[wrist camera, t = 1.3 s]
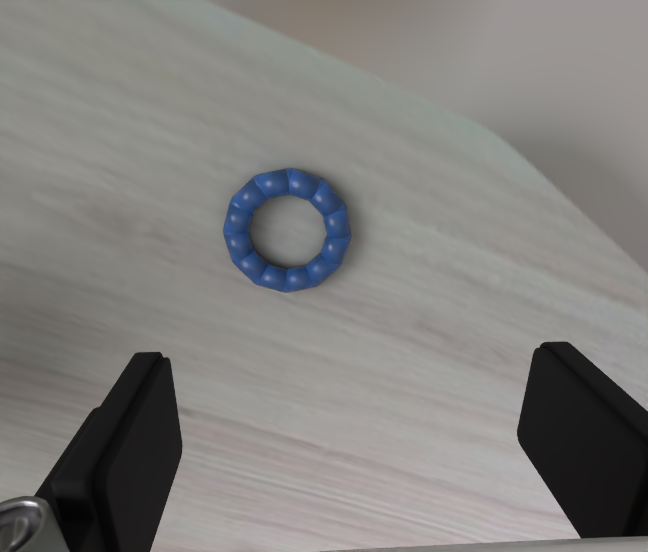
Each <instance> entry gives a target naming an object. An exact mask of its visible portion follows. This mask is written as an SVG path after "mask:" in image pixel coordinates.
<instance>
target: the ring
mask: <svg viewBox="0 0 648 552" xmlns="http://www.w3.org/2000/svg"><path fill="white" fill-rule="evenodd" d="M288 194H290V195H293V196H296V197H299V198H302V199H305V200H309V201H310V202H311V203H312V204H313V205H314V207H315V208H316V209H317V210H318V211H319V212H320V213H321V214H322V215H323V219H324V223H325V228H326V233H327V236H326V239H325V242H324V245H323V247H322V250H321V253H320V254H319V255H317V256H316V257H315V258H314V259H313V260H312V261H310V262H309V263H308V264H307V265H304V266H300V267H295V268H290V269H284V268H281V267H278V266H274V265H271V264H268V263H267V262H265V261H264V260H263V259H262V258H261V257H260V256H259V255H258V254H257V253H256V252H255V251H254V249H253V246H252V242H251V239H250V235H249V232H248V231H249V227H250V224H251V220H252V216H253V213H254V212H255V211H256V210H257V209H258V208H259V207H260V206H261V205H262V204H263V203H264V202H265V201H266V200H268V199H269V198H274V197H279V196H283V195H288ZM223 234H224V237H225V240H226V244H227V247H228V250H229V254H230V257H231V260H232V262H233V263H234V265H236V266H237V267H238V268H239V269H240V270H241V271H242V272H243V273H244V274H245V275H246V276H247V277H248V278H249V279H250V280H251V281H252V282H253V283H255V284H256V285H259V286H263V287H266V288H270V289H273V290H277V291H281V292H285V293H288V292H293V291H298V290H303V289H308V288H312V287H316V286H318V285H319V284H320V283H322V282H323V281H324V280H325V279H326V278H327V277H329V276H330V275H331V274H332V273H333V272H335V271H336V270H337V269H338V268H339V267H340V266H341V264H342V261H343V259H344V256H345V253H346V251H347V248H348V245H349V242H350V240H351V230H350V225H349V220H348V214H347V209H346V205H345V203H344V202H343V201H342V199H341V198H340V197H339V196H338V195H337V194H336V193H335V192H334V190H333V189H332V188H331V187H330V186H329V185H328V184H327V183H326V181H325V180H323V179H322V178H320V177H317V176H314V175H311V174H308V173H305V172H302V171H299V170H296V169H292V168H286V169H281V170H277V171H272V172H267V173H263V174H259V175H256V176H254V177H253V178H252V179H251V180H250V181H249V182H248V183H247V184H246V185H245V186H244V187H243V188H242V189H241V190H240V191H238V192H237V193H236V194H235V195H234V196H233V197H232V199H231V201H230V204H229V208H228V212H227V216H226V220H225V224H224V228H223Z"/></svg>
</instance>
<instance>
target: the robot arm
mask: <svg viewBox="0 0 648 552" xmlns="http://www.w3.org/2000/svg"><path fill="white" fill-rule="evenodd" d="M517 436H518V441H519V443H520V445H521V447H522V449H523V450H524V452H525V453H526V455H527V456H528V458H529V459H530V461H531V462H532V464H533V465H534V467H535V468H536V470H537V471H538V473H539V475H540V476H541V478H542V479H543V481H544V482H545V484H546V485H547V487H548V488H549V490H550V491H551V493H552V494H553V496H554V497H555V499H556V501H557V502H558V504H559V505H560V507H561V508H562V510H563V511H564V513H565V514H566V516H567V517H568V519H569V520H570V522H571V523H572V525H573V527H574V528H575V530H576V531H577V533H578V534H579V536H580V537H581V539H561V540H539V541H516V542H494V543H474V544H454V545H434V546H414V547H395V548H375V549H356V550H338V551H321V552H648V411H647V410H645V409H644V408H643V407H642V406H641V405H640V404H639V403H637V402H636V401H635V400H634V399H633V398H632V397H631V396H629V395H628V394H627V393H626V392H625V391H624V390H623V389H621V388H620V387H619V386H618V385H617V384H616V383H615V382H613V381H612V380H611V379H610V378H609V377H608V376H607V375H605V374H604V373H603V372H602V371H601V370H600V369H599V368H598V367H596V366H595V365H594V364H593V363H592V362H591V361H590V360H588V359H587V358H586V357H585V356H584V355H583V354H582V353H580V352H579V351H578V350H577V349H576V348H575V347H574V346H572V345H571V344H570V343H568V342H544V343H542V344H541V345H540V348H536V349H535V351H534V353H533V357H532V362H531V367H530V372H529V377H528V381H527V386H526V391H525V396H524V401H523V405H522V410H521V415H520V420H519V424H518V429H517ZM181 455H182V438H181V431H180V424H179V417H178V410H177V403H176V397H175V390H174V383H173V376H172V369H171V363H170V359H169V358H163V356H162V354H161V353H160V352H138V353H135V354H134V356H133V357H132V359H131V360H130V362H129V363H128V365H127V366H126V368H125V369H124V371H123V372H122V374H121V375H120V377H119V379H118V380H117V382H116V383H115V385H114V386H113V388H112V389H111V391H110V392H109V394H108V395H107V397H106V398H105V400H104V401H103V403H102V405H101V406H100V407H97V408H95V409H93V410H92V411H91V413H90V414H89V415H88V417H87V418H86V420H85V421H84V423H83V424H82V426H81V427H80V429H79V430H78V432H77V433H76V435H75V436H74V438H73V439H72V440H71V442H70V443H69V445H68V446H67V448H66V449H65V451H64V452H63V454H62V455H61V457H60V458H59V460H58V461H57V463H56V464H55V466H54V467H53V469H52V470H51V472H50V473H49V475H48V476H47V478H46V479H45V481H44V482H43V484H42V485H41V486H40V488H39V489H38V491H37V492H36V494H35V495H34V496H22V497H18V498H13V499H9V500H6V501H4V502H1V503H0V552H150V550H151V547H152V544H153V541H154V538H155V535H156V532H157V529H158V526H159V523H160V520H161V517H162V514H163V511H164V508H165V505H166V502H167V499H168V496H169V492H170V489H171V486H172V483H173V480H174V477H175V474H176V471H177V468H178V465H179V462H180V459H181Z"/></svg>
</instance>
